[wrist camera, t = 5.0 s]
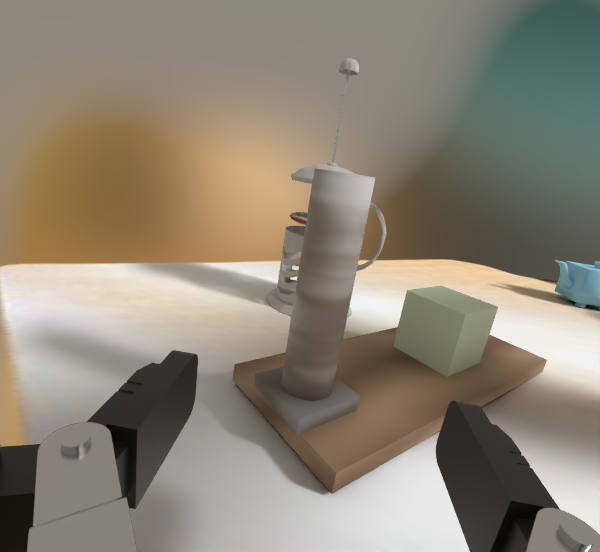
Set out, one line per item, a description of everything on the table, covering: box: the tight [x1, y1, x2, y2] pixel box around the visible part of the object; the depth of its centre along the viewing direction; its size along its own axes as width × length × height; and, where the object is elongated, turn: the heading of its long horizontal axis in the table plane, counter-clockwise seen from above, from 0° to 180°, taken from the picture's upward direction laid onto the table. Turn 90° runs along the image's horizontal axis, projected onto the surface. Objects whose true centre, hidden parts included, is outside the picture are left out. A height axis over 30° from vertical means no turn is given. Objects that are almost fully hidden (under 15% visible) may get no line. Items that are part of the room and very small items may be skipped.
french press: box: [266, 58, 386, 317], centre depth 37 cm, size 10×12×25 cm
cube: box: [393, 286, 498, 377], centre depth 29 cm, size 5×5×5 cm
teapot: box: [555, 260, 600, 311], centre depth 59 cm, size 12×6×8 cm, turn 82°
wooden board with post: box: [233, 169, 547, 493], centre depth 26 cm, size 10×26×14 cm, turn 127°
